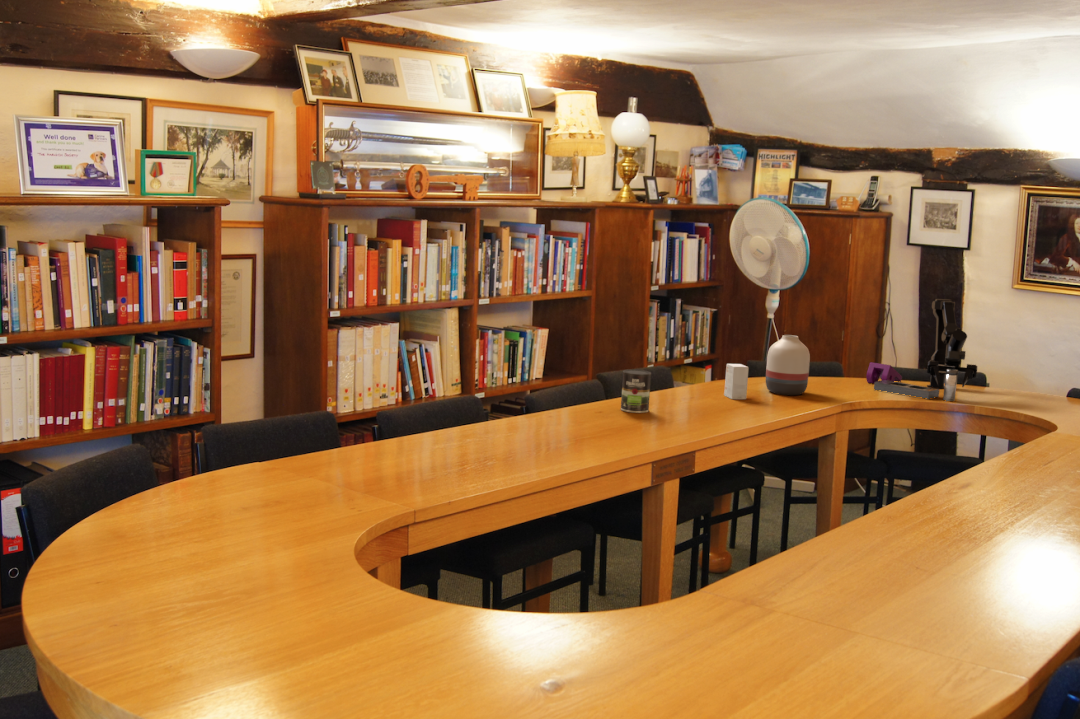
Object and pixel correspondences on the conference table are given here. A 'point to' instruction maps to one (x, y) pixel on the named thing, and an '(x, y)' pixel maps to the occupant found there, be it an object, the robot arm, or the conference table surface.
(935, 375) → the robot arm
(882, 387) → the rack rail
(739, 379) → the small box
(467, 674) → the conference table surface
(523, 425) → the conference table surface
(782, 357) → the vase
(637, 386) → the coffee can
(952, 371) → the steel pin
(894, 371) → the mounting bracket
